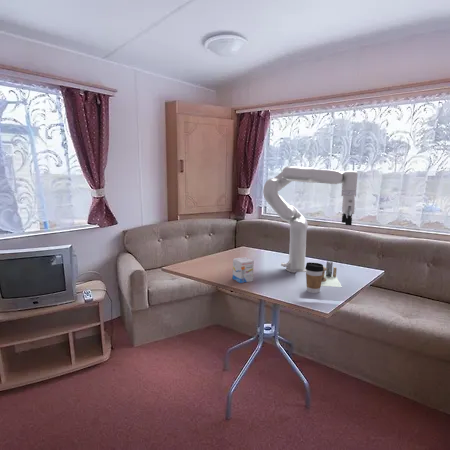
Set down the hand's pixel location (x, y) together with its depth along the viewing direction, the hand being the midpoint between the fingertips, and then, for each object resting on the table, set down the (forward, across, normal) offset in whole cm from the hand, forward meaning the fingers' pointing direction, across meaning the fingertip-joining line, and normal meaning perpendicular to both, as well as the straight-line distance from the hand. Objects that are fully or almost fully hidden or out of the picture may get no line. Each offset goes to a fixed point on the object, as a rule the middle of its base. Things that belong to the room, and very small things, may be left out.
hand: (346, 223), depth 175 cm
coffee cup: (+31, -33, +20) cm, 49 cm away
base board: (+30, -16, +11) cm, 36 cm away
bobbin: (+29, -16, +14) cm, 36 cm away
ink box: (+31, -20, +56) cm, 67 cm away
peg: (+29, -7, +9) cm, 31 cm away
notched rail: (+29, -8, +11) cm, 32 cm away
